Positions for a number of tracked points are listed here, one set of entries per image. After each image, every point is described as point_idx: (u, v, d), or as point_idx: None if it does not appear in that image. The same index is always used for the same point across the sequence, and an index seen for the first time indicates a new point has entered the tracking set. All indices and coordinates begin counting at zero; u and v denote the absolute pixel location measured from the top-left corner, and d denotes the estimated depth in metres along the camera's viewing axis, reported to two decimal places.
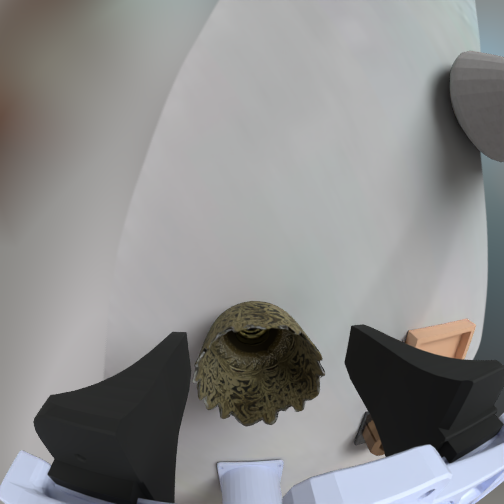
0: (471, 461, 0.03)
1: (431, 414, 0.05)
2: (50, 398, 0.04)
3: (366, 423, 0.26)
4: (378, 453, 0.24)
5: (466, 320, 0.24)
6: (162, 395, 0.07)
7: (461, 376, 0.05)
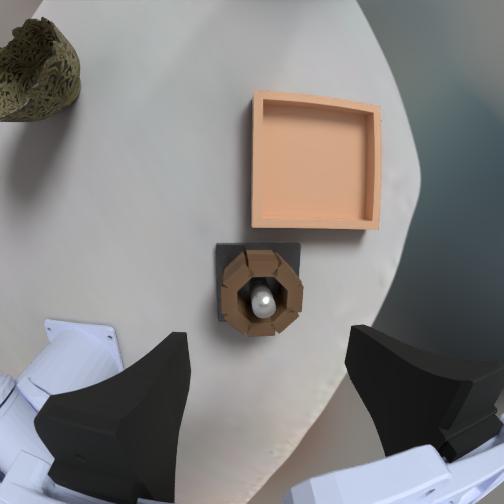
0: (471, 461, 0.03)
1: (431, 414, 0.05)
2: (50, 398, 0.04)
3: (221, 267, 0.20)
4: (243, 327, 0.18)
5: None
6: (162, 395, 0.07)
7: (461, 376, 0.05)
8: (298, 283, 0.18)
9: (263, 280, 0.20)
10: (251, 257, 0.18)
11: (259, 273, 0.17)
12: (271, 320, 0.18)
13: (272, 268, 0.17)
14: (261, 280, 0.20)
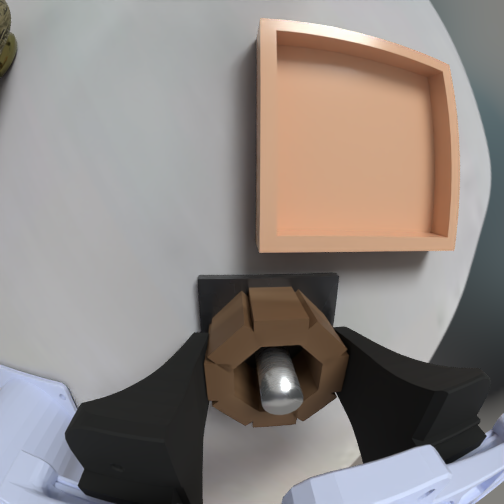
0: (471, 461, 0.03)
1: (405, 424, 0.05)
2: (83, 406, 0.04)
3: (208, 315, 0.12)
4: (245, 417, 0.10)
5: None
6: (193, 397, 0.07)
7: (436, 385, 0.05)
8: (341, 351, 0.09)
9: None
10: (258, 308, 0.10)
11: (274, 340, 0.09)
12: None
13: (298, 331, 0.09)
14: None
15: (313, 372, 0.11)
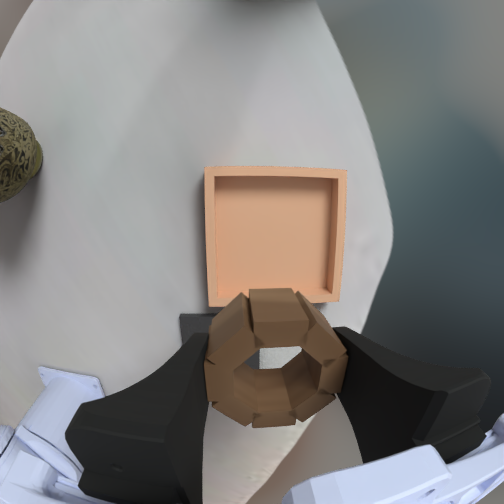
0: (471, 461, 0.03)
1: (405, 424, 0.05)
2: (82, 406, 0.04)
3: (186, 335, 0.21)
4: (245, 418, 0.10)
5: None
6: (193, 397, 0.07)
7: (436, 385, 0.05)
8: (341, 353, 0.09)
9: None
10: (258, 309, 0.10)
11: (273, 342, 0.09)
12: (291, 405, 0.10)
13: (297, 332, 0.09)
14: None
15: (313, 373, 0.11)
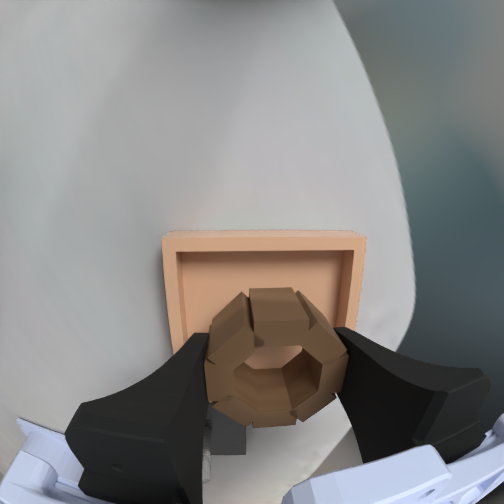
0: (471, 461, 0.03)
1: (405, 424, 0.05)
2: (82, 406, 0.04)
3: None
4: (245, 418, 0.10)
5: (346, 231, 0.14)
6: (193, 397, 0.07)
7: (436, 385, 0.05)
8: (341, 352, 0.09)
9: (203, 436, 0.15)
10: (258, 309, 0.10)
11: (274, 341, 0.09)
12: (291, 405, 0.10)
13: (298, 332, 0.09)
14: None
15: (313, 373, 0.11)
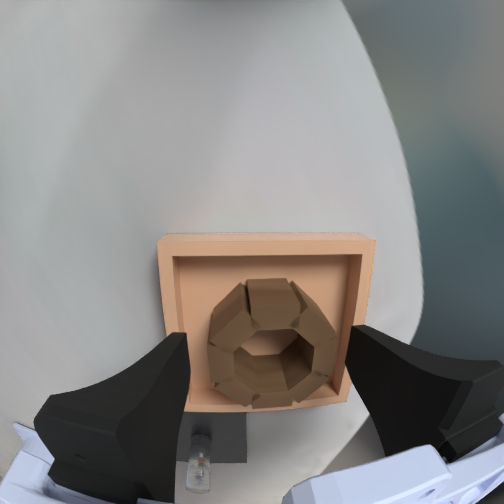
0: (471, 461, 0.03)
1: (431, 414, 0.05)
2: (50, 398, 0.04)
3: None
4: (245, 399, 0.11)
5: (354, 234, 0.13)
6: (162, 395, 0.07)
7: (461, 376, 0.05)
8: (331, 335, 0.10)
9: (203, 445, 0.14)
10: (255, 296, 0.11)
11: (269, 324, 0.10)
12: (287, 386, 0.11)
13: (290, 316, 0.10)
14: (200, 445, 0.14)
15: (307, 356, 0.12)
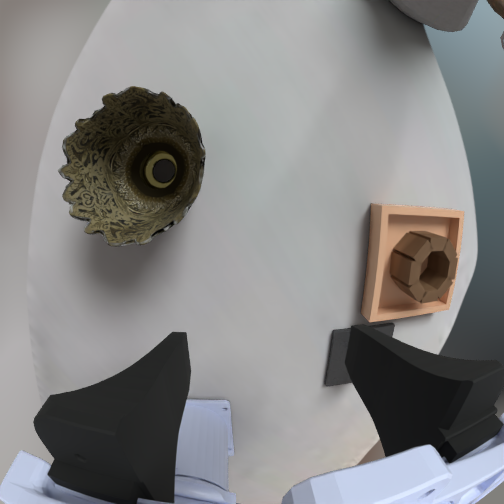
0: (471, 461, 0.03)
1: (431, 414, 0.05)
2: (50, 398, 0.04)
3: (336, 349, 0.23)
4: (420, 296, 0.19)
5: (451, 209, 0.20)
6: (162, 395, 0.07)
7: (461, 376, 0.05)
8: (455, 255, 0.18)
9: None
10: (425, 235, 0.18)
11: (436, 248, 0.18)
12: (435, 288, 0.19)
13: (443, 243, 0.18)
14: None
15: (441, 271, 0.19)
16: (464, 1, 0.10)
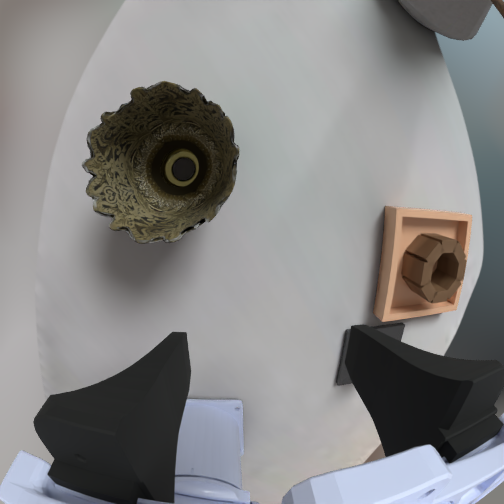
0: (471, 461, 0.03)
1: (431, 414, 0.05)
2: (50, 398, 0.04)
3: None
4: (431, 296, 0.19)
5: None
6: (162, 395, 0.07)
7: (461, 376, 0.05)
8: (464, 257, 0.18)
9: None
10: (437, 237, 0.19)
11: (446, 250, 0.18)
12: (445, 289, 0.19)
13: (453, 245, 0.18)
14: None
15: (450, 272, 0.20)
16: (476, 11, 0.10)
